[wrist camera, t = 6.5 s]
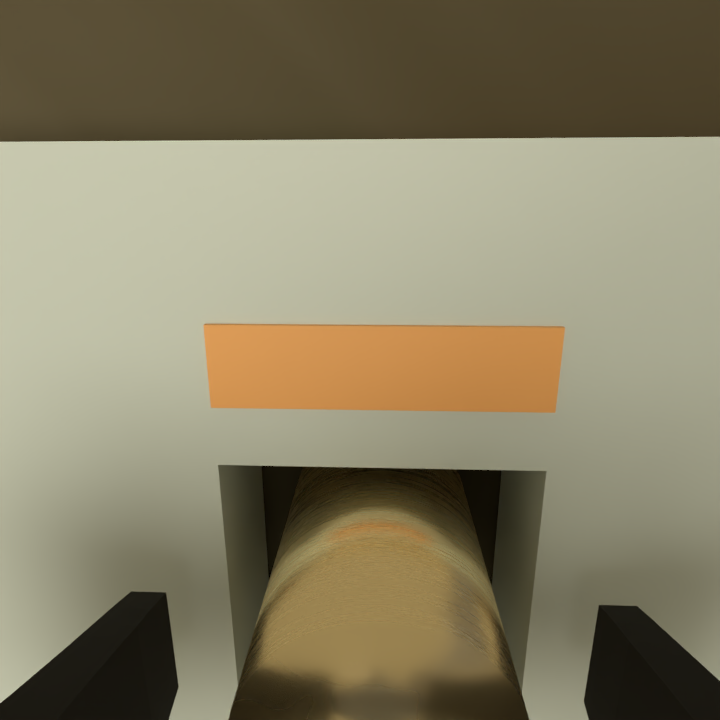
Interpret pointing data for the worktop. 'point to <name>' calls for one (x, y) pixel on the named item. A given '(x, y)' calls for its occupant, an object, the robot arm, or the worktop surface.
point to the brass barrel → (379, 607)
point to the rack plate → (358, 377)
